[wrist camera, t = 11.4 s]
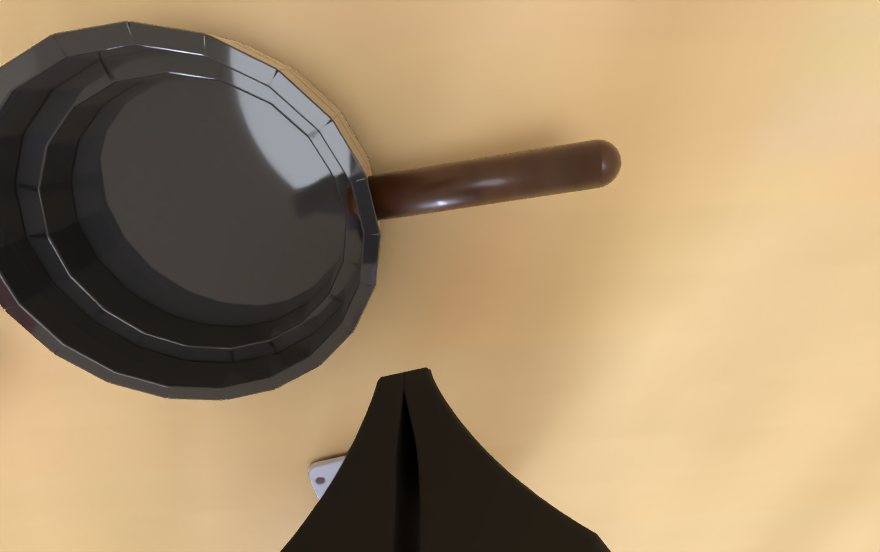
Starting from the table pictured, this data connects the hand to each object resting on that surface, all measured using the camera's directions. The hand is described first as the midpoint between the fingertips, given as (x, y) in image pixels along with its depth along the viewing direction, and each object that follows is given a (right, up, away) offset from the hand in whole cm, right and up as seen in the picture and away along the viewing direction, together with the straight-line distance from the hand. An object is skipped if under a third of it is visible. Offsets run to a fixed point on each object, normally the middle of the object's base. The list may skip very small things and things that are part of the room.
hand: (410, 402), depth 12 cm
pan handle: (+2, +7, +5) cm, 9 cm away
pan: (-8, +6, +7) cm, 12 cm away
